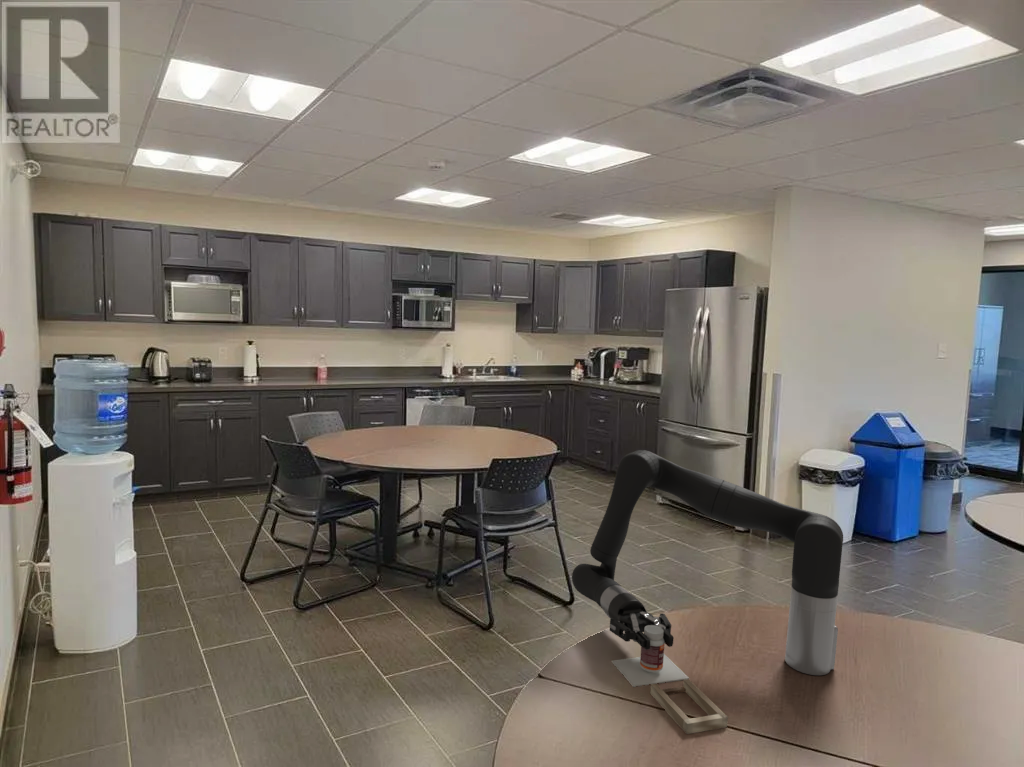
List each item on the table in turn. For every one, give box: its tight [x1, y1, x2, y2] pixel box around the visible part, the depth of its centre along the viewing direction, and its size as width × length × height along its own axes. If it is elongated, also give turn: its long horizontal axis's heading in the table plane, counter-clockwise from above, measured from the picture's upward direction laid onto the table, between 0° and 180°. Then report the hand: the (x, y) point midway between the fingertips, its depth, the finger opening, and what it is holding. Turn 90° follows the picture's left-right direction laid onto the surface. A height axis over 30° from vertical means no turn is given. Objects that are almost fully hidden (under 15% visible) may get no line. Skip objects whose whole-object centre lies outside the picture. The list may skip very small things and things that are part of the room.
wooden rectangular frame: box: [649, 678, 729, 735], centre depth 125 cm, size 9×13×2 cm, turn 18°
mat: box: [611, 653, 690, 688], centre depth 139 cm, size 13×10×1 cm
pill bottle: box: [640, 625, 666, 672], centre depth 138 cm, size 5×5×8 cm
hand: (659, 643), depth 135 cm, fingers closed on pill bottle, 4 cm apart
